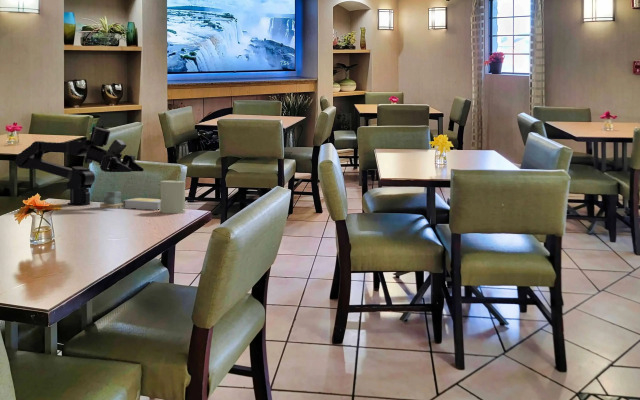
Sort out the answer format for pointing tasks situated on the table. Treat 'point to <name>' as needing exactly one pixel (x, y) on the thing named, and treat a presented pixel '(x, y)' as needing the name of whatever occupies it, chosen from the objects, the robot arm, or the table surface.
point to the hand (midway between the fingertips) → (137, 170)
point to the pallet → (112, 200)
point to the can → (172, 197)
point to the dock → (143, 203)
